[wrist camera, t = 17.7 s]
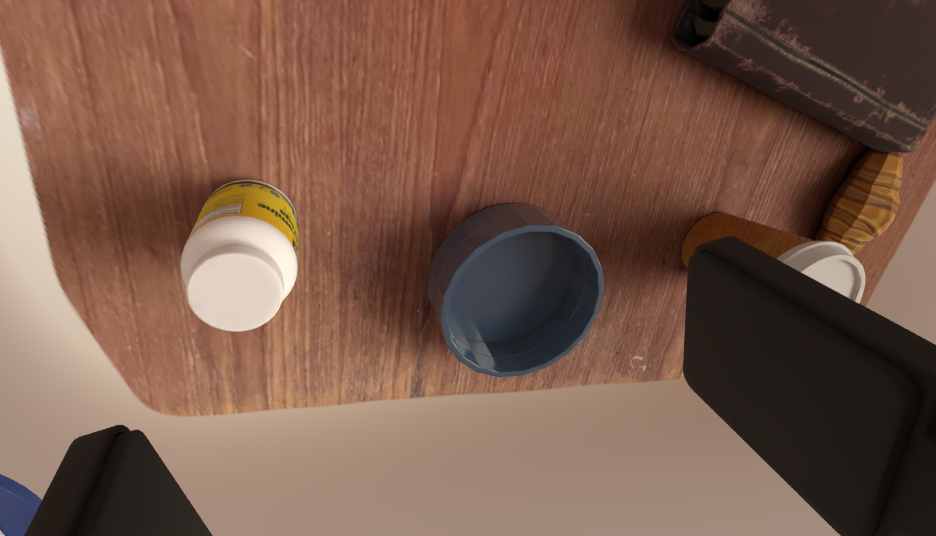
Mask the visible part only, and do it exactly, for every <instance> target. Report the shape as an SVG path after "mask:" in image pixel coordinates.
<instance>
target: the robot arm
mask: <svg viewBox="0 0 936 536" xmlns="http://www.w3.org/2000/svg"><path fill="white" fill-rule="evenodd" d="M683 373H684V377H685V379H686V381H687V383H688V385H689V386H690V387H691V389H692V390H693V391H694V392H695V393H696V394H697V395H698V396H699V397H700V398H701V399H703V401H704V402H705V403H706V404H708V405H709V406H710V407H711V408H712V409H713V410H714V411H715V412H716V413H717V414H718V415H719V416H720V417H721V418H722V419H723V420H724V421H725V422H726V423H727V424H728V425H729V426H730V427H731V428H732V429H733V430H734V431H735V432H736V433H737V434H738V435H739V436H740V437H741V438H742V439H743V440H744V441H745V442H746V443H747V444H748V445H749V446H750V447H751V448H752V449H753V450H754V451H755V452H756V453H757V454H758V455H759V456H760V457H761V458H762V459H763V460H764V461H765V462H766V463H767V464H768V465H769V466H770V467H771V468H772V469H773V470H774V471H775V472H777V473H778V474H779V475H780V476H781V477H782V478H783V479H784V480H785V481H786V482H787V483H788V484H789V485H790V486H791V487H792V488H793V489H794V490H795V491H796V492H797V493H798V494H799V495H800V496H801V497H802V498H803V499H804V500H805V501H806V502H807V503H808V504H809V505H810V506H811V507H812V508H813V509H814V510H815V511H816V512H817V513H818V514H819V515H820V516H821V517H822V518H823V519H824V520H825V521H826V522H827V523H828V524H829V525H830V526H831V527H832V528H833V529H834V530H835V531H837V533H839V534H840V535H841V536H936V345H935V344H933V343H931V342H929V341H927V340H926V339H923V338H922V337H920V336H918V335H916V334H915V333H913V332H911V331H909V330H907V329H905V328H903V327H902V326H900V325H898V324H895V323H894V322H892V321H890V320H889V319H887V318H885V317H883V316H881V315H879V314H877V313H876V312H874V311H872V310H870V309H868V308H866V307H864V306H863V305H861V304H859V303H857V302H855V301H853V300H852V299H850V298H848V297H846V296H844V295H842V294H840V293H839V292H837V291H835V290H833V289H831V288H829V287H827V286H826V285H824V284H822V283H820V282H818V281H816V280H814V279H813V278H811V277H809V276H807V275H805V274H803V273H801V272H800V271H798V270H796V269H794V268H792V267H790V266H788V265H787V264H785V263H783V262H781V261H779V260H777V259H776V258H774V257H772V256H770V255H768V254H766V253H764V252H763V251H761V250H759V249H757V248H755V247H753V246H751V245H750V244H748V243H746V242H744V241H742V240H740V239H738V238H736V237H733V236H726V237H723V238H719V239H716V240H713V241H710V242H707V243H703V244H701V245H699V246H698V247H697V248H696V250H695V253H694V255H693V256H691V257H690V259H689V263H688V278H687V299H686V319H685V340H684V360H683ZM0 536H5V535H4V534H3V533H2V532H1V530H0ZM24 536H212V534H211V533H210V531H209V530H208V528H207V527H206V525H205V524H204V523H203V521H202V519H201V518H200V516H199V515H198V513H197V512H196V510H195V509H194V507H193V506H192V504H191V503H190V501H189V500H188V499H187V497H186V495H185V494H184V493H183V491H182V490H181V488H180V487H179V485H178V484H177V482H176V481H175V479H174V478H173V476H172V475H171V473H170V472H169V470H168V469H167V467H166V466H165V464H164V463H163V461H162V460H161V458H160V457H159V455H158V454H157V453H156V451H155V449H154V448H153V446H152V445H151V443H150V442H149V440H148V439H147V437H146V436H145V435H144V433H143V432H141V431H140V430H133V431H130V430H129V429H128V428H127V427H125V426H124V425H116V426H113V427H110V428H107V429H104V430H101V431H97V432H94V433H91V434H88V435H84V436H81V437H78V438H77V439H75V440H74V441H73V442H72V444H71V445H70V447H69V449H68V451H67V453H66V455H65V457H64V459H63V460H62V462H61V464H60V466H59V468H58V470H57V472H56V474H55V476H54V478H53V480H52V482H51V484H50V486H49V488H48V490H47V492H46V494H45V496H44V498H43V500H42V502H41V504H40V506H39V507H38V509H37V511H36V513H35V515H34V517H33V519H32V521H31V523H30V525H29V527H28V529H27V531H26V533H25V535H24Z"/></svg>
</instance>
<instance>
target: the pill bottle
mask: <svg viewBox="0 0 936 536" xmlns="http://www.w3.org/2000/svg"><path fill="white" fill-rule="evenodd" d="M297 270H298V221H297V215H296V212H295V209H294V207H293V205H292V203H291V202H290V200H289V199H288V198H287V197H286V196H285V195H284V194H283V193H282V192H281V191H280V190H279V189H277V188H276V187H274V186H272V185H270V184H267V183H265V182H261V181H257V180H237V181H233V182H230V183H227V184H225V185H223V186H221V187H219V188H218V189H217V190H216V191H214V192H213V193H212V194H211V195H210V197H209V198H208V200H207V201H206V203H205V204H204V206H203V208H202V211H201V213H200V215H199V217H198V219H197V221H196V223H195V226H194V228H193V230H192V232H191V234H190V236H189V238H188V240H187V242H186V244H185V247H184V250H183V253H182V257H181V273H182V277H183V280H184V283H185V285H186V296H187V300H188V303H189V305H190V307H191V309H192V310H193V312H194V313H195V314H196V315H197V316H198V317H199V318H200V319H201V320H202V321H204V322H205V323H207V324H208V325H210V326H212V327H215V328H218V329H221V330H226V331H246V330H250V329H254V328H257V327H259V326H261V325H263V324H265V323H266V322H267V321H269V320H270V319H271V318H272V317H273V316H274V315H275V314H276V312H277V311H278V309H279V307H280V305H281V302H282V301H283V300H284V299H285V297H286V296H287V295H288V294H289V292H290V291H291V289H292V287H293V285H294V283H295V280H296V276H297Z"/></svg>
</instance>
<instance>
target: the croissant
mask: <svg viewBox="0 0 936 536" xmlns="http://www.w3.org/2000/svg"><path fill="white" fill-rule="evenodd" d="M902 169H903V156H902V153H901V152H882V151H879V150H875V149H871V148H869V149H868V150H867V151H866V152H865V153H864V154H863V155H862V157H861V158H860V159H859V160H858V161H857V163H856V164H855V165H854V166H853V167H852V169H851V171H850V172H849V174H848V176H847V178H846V179H845V180H844V181H843V182H842V184H841V185H840V186H839V188H838V189H837V190H836V192H835V193H834V195H833V196H832V198H831V199H830V201H829V203H828V205H827V208H826V210H825V213H824V215H823V218H822V222H821V225H820V227H819V229H818V230H817V232H816V234H815V238H814V241H832V242H836V243H839V244H842V245H844V246H845V247H846V248H847V249H849V250H850V251H851V253H852V255H854V254H855V253H856V252H858V251H859V250H860V249H862V248H863V247H864V246H865V245H866V244H867V243H868V242H869V241H870V240H872V239H874V238H876V237H877V236H879V235H881V234H882V233H883V232H884V231H885V230H886V228H887V227H888V226H889V225H890V224H891V222H892V221H893V220H894V217H895V215H896V212H897V210H898V207H899V205H900V200H899V189H900V185H901V179H902Z"/></svg>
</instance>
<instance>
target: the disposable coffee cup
mask: <svg viewBox="0 0 936 536" xmlns="http://www.w3.org/2000/svg"><path fill="white" fill-rule="evenodd" d="M726 236H733V237H736V238H738V239H740V240H742V241H744V242H746V243H748V244H750V245H751V246H753V247H755V248H757V249H759V250H761V251H763V252H764V253H766V254H768V255H770V256H772V257H774V258H776V259H777V260H779V261H781V262H783V263H785V264H787V265H788V266H790V267H792V268H794V269H796V270H798V271H800V272H801V273H803V274H805V275H807V276H809V277H811V278H813V279H814V280H816V281H818V282H820V283H822V284H824V285H826V286H827V287H829V288H831V289H833V290H835V291H837V292H839V293H840V294H842V295H844V296H846V297H848V298H850V299H852V300H853V301H855V302H857V303H859V302H860V300H861V298H862V295H863V291H864V287H865V273H864V269H863V266H862V265H861V264H860V262H859V261H858V260H857V259H856V258H854V257H853V255H852V253H851V251H850V250H849V249H847V248H846V247H845V246H844V245H842V244H839V243H836V242H832V241H813V240H811V239H806V238H805V237H801V236H800V237H799V236H798V235H795V234H793V235H792V233H789V232H785V231H782V230H779V229H775V228H772V227H769V226H766V225H762V224H760V223H755V222H753V221H749V220H746V219H743V218H740V217H739V218H738V217H737V216H733V215H730V214H727V213H722V212H720V213H713V214H710V215H708V216H706V217H704V218H703V219H701V220H700V221H698V222H697V223H696V224H695V225H694V226H693V227H692V229H691V230H690V231H689V233H688V234H687V236H686V238H685V240H684V243H683V246H682V253H681V256H682V261H683V264H684V266H685V267H686V268H687V269H688V263H689V259H690V257H691V256H693V255H694V253H695V250H696V248H697V247H698V246H699V245H701V244H703V243H707V242H710V241H713V240H716V239H719V238H723V237H726Z"/></svg>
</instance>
